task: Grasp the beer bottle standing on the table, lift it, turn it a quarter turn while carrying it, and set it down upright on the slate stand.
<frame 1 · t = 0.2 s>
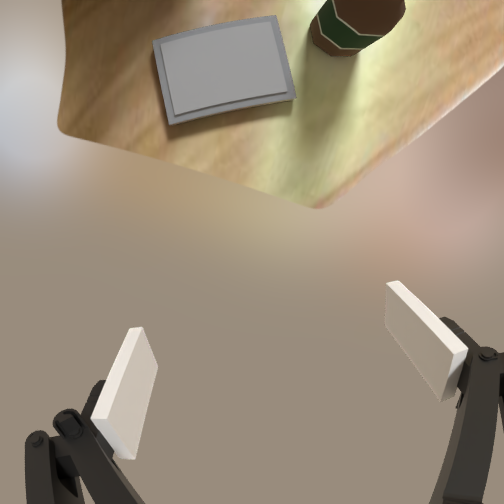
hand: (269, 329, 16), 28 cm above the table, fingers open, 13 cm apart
beer bottle: (334, 35, 35), on the table
slate stand: (223, 68, 36), on the table
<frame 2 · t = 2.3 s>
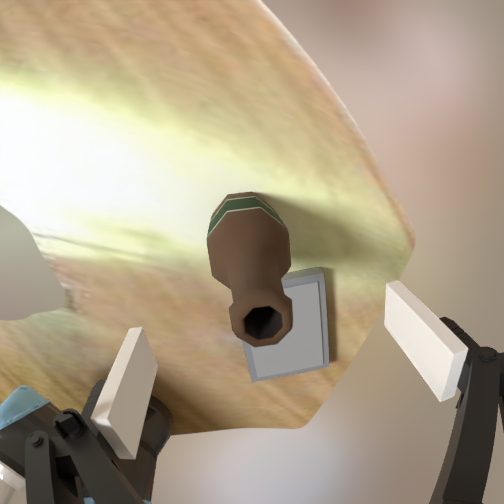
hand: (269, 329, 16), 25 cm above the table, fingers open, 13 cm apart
beer bottle: (242, 220, 40), on the table
slate stand: (283, 325, 45), on the table
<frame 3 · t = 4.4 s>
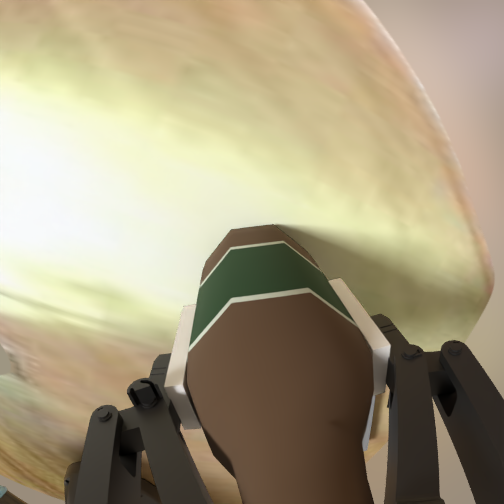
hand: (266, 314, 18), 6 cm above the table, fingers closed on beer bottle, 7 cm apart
beer bottle: (256, 270, 24), on the table, touching gripper
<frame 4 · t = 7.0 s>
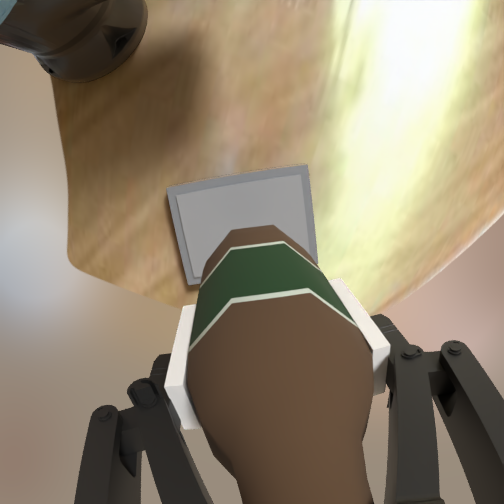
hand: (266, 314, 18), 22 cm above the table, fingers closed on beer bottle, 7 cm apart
beer bottle: (257, 270, 24), point 16 cm above the table, touching gripper
slate stand: (244, 222, 38), on the table
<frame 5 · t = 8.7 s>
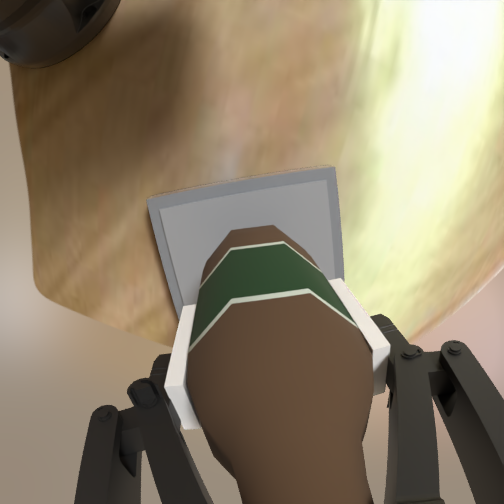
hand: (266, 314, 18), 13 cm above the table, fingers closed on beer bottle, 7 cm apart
beer bottle: (257, 271, 24), point 6 cm above the table, touching gripper
slate stand: (251, 242, 29), on the table
when the fingers open (9 cm above the table, at t = 9.9 s): beer bottle stays where it is, resting on slate stand.
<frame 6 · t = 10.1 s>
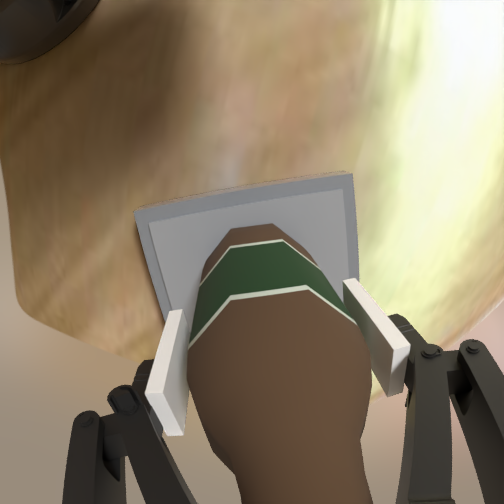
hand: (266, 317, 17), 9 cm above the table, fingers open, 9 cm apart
beer bottle: (256, 269, 24), point 2 cm above the table, touching slate stand
slate stand: (254, 259, 26), on the table
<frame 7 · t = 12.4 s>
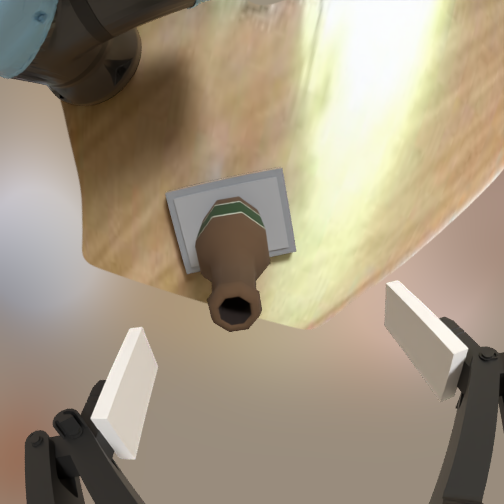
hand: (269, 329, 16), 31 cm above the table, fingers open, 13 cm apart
beer bottle: (232, 222, 43), point 2 cm above the table, touching slate stand
slate stand: (232, 219, 45), on the table
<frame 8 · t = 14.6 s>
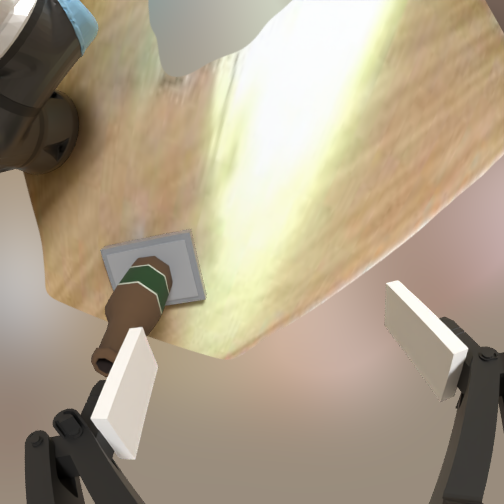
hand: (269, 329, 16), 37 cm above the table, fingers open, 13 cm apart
beer bottle: (151, 275, 52), point 2 cm above the table, touching slate stand
slate stand: (154, 270, 54), on the table
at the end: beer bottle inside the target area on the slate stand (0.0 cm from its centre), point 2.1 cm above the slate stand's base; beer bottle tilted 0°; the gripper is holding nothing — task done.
